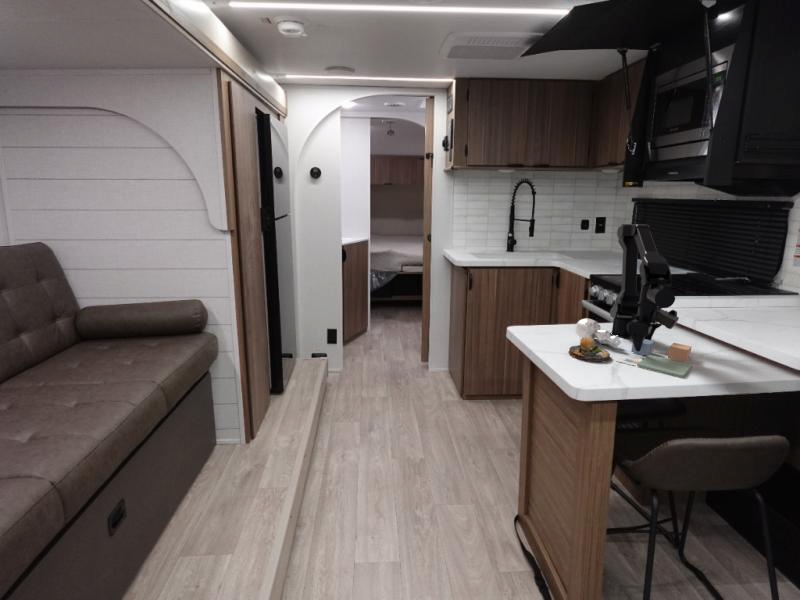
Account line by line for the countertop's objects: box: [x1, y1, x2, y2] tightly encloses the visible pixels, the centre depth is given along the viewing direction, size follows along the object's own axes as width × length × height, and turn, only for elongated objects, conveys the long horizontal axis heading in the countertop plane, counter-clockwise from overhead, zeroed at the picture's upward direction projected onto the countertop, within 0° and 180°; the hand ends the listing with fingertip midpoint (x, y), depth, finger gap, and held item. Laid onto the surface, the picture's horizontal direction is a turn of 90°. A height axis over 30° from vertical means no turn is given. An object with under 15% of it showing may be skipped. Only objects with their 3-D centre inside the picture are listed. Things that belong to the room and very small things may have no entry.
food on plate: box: [568, 335, 611, 364], centre depth 153 cm, size 12×12×8 cm
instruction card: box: [616, 356, 644, 369], centre depth 149 cm, size 8×6×1 cm
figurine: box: [575, 317, 621, 349], centre depth 166 cm, size 11×7×15 cm
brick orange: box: [667, 342, 692, 363], centre depth 154 cm, size 5×5×4 cm
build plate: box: [637, 354, 694, 379], centre depth 146 cm, size 12×12×1 cm
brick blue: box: [630, 339, 655, 357], centre depth 158 cm, size 5×5×4 cm
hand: (642, 347), depth 158 cm, fingers open, 9 cm apart
